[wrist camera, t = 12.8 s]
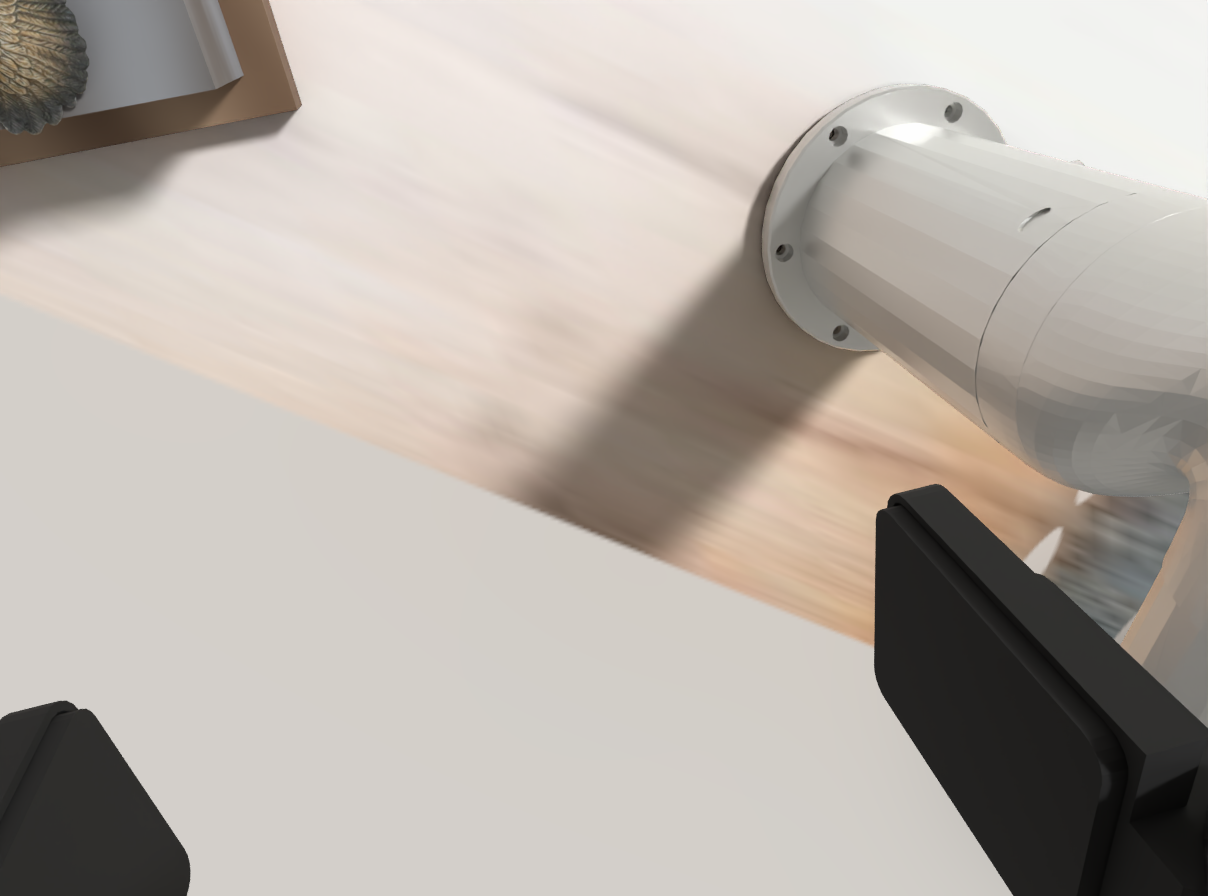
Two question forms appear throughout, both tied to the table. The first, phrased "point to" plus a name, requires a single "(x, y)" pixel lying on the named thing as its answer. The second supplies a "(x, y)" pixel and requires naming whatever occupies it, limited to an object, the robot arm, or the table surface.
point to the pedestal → (165, 74)
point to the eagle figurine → (39, 63)
